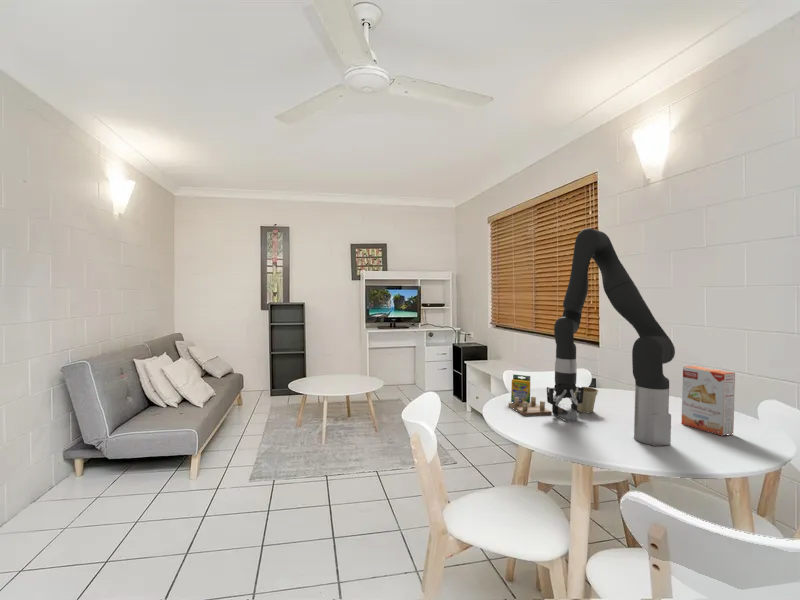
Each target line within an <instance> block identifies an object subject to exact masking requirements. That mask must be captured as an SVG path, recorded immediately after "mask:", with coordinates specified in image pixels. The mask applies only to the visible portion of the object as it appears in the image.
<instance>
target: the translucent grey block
mask: <svg viewBox="0 0 800 600" xmlns="http://www.w3.org/2000/svg"><path fill="white" fill-rule="evenodd" d="M557 417H558V418H560V419H562V420H563V419H564V420H563V421H565V420H566V422H567V421H568V422H567V423H573V422H575V423H576V422H578V411H576V410H574V409H572V408H571V406H570V407H569V406H567V405H565V404H563V403H559V404H558V416H557Z"/></svg>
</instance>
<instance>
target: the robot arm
mask: <svg viewBox="0 0 800 600" xmlns="http://www.w3.org/2000/svg"><path fill="white" fill-rule="evenodd" d="M572 254H573V257H572V262H571V271H570V277H569V281H568V285H567V288H566V292H565V295H564V299H563V303H562V307H563V311H562V316H561V317H559V318H557V319H556V321H555V323H554V326H553V327H554V328H553V333H554V342H555V345H556V346H555V347H556V348H555V362H554V385H553V387H549V386H547V387H546V401H547V403H548V404H551V406H552V407H551V412H552V414H553V415H554V416H555V417H558V404H560V402H561V401H562V400H563V399H566V398H567V399H569V400H570V402H571V404H570V408H572V409H574V410H576V411H577V405H578V404H579V403H582V402H583V392H584V388H583V387H584V386H580V385H578V386H576V385H577V371H578V366H577V365H578V363H577V345H576V343H575V339H574V336H575V334H576V333H577V332H578V330H579V329H580V324H581V321H582V320H581V319H582V313H583V308H584V305H585V302H586V299H587V296H588V291H589V274H588V273H589V266H590V262H591V260H593V261H594V262H595V265H596V266H597V267H598V269H599V271H600V273H601V280H602V281H601V282H602V287H603V291H604V293H605V294H606V295H605V296H607V297H606V298H608V300H609V302H610V304H611V306H612V307H613V309H614V310H615V311H616V312H617V313H618V314H620V316H622V318H623V319H625V320H626V321H627V322H628V323H629V324H630V325H631V326H632V328H634V330H635V331H636V333H637V335H638V338H636V340H635V341H634V342H633V345H632V352H631V357H632V358H631V359H632V360H631V361H632V365H631V366H632V375H633V378H634V382H635V383H634V388H635V389H634V420H633V422H634V427H633V428H634V429H633V439H634V440H635V441H637V442H639V443H641V444H644V445H645V444H646V445H651V446H653V447H656V446H657V447H659V446H670V445H671V442H672V441H671V439H672V438H671V436H672V414H671V413H670V412H669V411H670V409H669V407H670V405H669V404H670V379H669V378H668V377H666V376H665V375H664V368H663V367H664V366H663V365H664V364H668V363H670V362H672V361H673V359H674V357H675V355H676V349H675V345H674V343H673V341H672V339H671V338H670V336H668V334H667V333H666V331H665V330H664V329H663V327H662V326H661V325H660V323H659V322H658V321H657V320H656V318H655V316H654V315H653V313H652V311H651V310H650V308H649V307H648V305H647V303H646V301H645V300H644V298H643V296H642V294H641V292H640V290H639V289H638V287H637V286H636V284H635V282H634V281H633V279H632V278H631V276H630V274H629V273H628V271H627V270H626V268H625V267H624V265H623V264H622V262H621V261H620V259H619V257H618V255H617V252H616V250H615V247H614V246H613V243H612V241H611V239H610V237H609V235H608V234H606V233H605V232H603V231H601V230H598V229H594V228H583V229H582V230H580V232H578V234H577V236H576V238H575V242H574V247H573V253H572ZM575 391H576V392H577V394H576V396H575V394H574V392H575ZM577 412H578V411H577Z"/></svg>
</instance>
